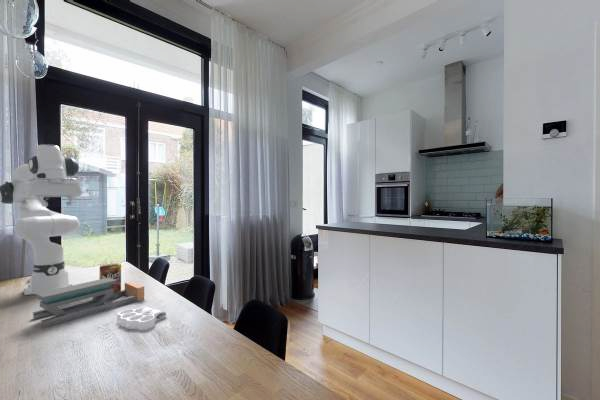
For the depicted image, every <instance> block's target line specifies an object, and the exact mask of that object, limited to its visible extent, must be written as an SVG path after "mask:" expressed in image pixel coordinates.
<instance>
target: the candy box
mask: <svg viewBox="0 0 600 400" xmlns="http://www.w3.org/2000/svg"><path fill="white" fill-rule="evenodd" d="M98 277H99V279H98V280H100V279H104V278H111V279H114V280H116V284H113V285H109V287H112V288H114V292H118V291H122V262H117V263H115V262H114V263H108V264H100V265H99V276H98Z"/></svg>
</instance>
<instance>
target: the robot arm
mask: <svg viewBox="0 0 600 400" xmlns="http://www.w3.org/2000/svg"><path fill="white" fill-rule="evenodd" d="M62 154H63V153H62V151H61V149H60V146H58V145H55V144H50V143H49V144H48V143H47V144H46V143H40V144H38V145H37V146H36V154H35V155H34V156H32V157H30V158H29V159H28V160H27V162H28V163H24V164H21V165H19V166H18V167H16V168H15V169H14V170H13V171H12V175H11V176H12V181H8V180H7V181H5V182H4V183H3V184H1V185H0V203H2V204H6V205H7V204H8V205H12V204H19V206H18V207H17V211H18V214H19V216H20V217H21V218H20V219H18V220H17V221H16V222H15V224H14V226H13V230H14V233H15V235H16V236H17V237H19V238H21V239H23V240H25V241H26V242H27V243H28V244H30V247H32V250H33V254H34V264H33V267H32V268H33V269H32V271H33V273H32V275H31V276H30V277H29V278H28V279H26V283H25V284H26V285H27V286H25V288H24V294H23V295H24V296H28V295H29V296H30V295H36V293H41V292H45V291H50V290H54V289H59V288H63V287H68V286H72V285H73V283H72V282H70V281H69V271H68V270H66V269H65V261H64V247H63V246H62V245H61V244H58V243H56V242H52V241H51V240H50V237H51V238H52V237H62V236H63V237H64V236H68V235H72V234H76V232H78V230H79V228H80V227H81V224H80V220H79V218H78V217H76V216H73V215H69V214H63V213H60V212H57V211H53V210H51V209H49V208H47V207H48V206H49V203H48V202H49V201H48V200H49V199H50V198H65V197H66V198H67V199H68V201H67V202H66V203H65V204H66V206H67V207H68V206H70V207H71V206H73V200H74V199H75V197H77V198H78V197H81V196H82V195H83V194H82V193H83V191H82V188H81V184H80V181H79V179H76V178H75V177H74V176H75V175H76V174H77V173H78V172H79V170H80V169H79V168H80V166H79V163H78V161H77V160H76V159H74V158H73V157H71V156H70V157H68V156H64V157H63V155H62ZM69 177H70V178H69ZM71 177H73V178H71Z"/></svg>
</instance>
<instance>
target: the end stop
mask: <svg viewBox="0 0 600 400" xmlns="http://www.w3.org/2000/svg"><path fill="white" fill-rule="evenodd" d="M124 290H126V295H125V296H126V297H130V296H134V295H137V296H138V301H137V302H139V301H142V300H145V286H144V285H142V284H139V283H136V282H134V281H125V282H124Z"/></svg>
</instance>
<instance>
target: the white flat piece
mask: <svg viewBox="0 0 600 400" xmlns="http://www.w3.org/2000/svg"><path fill="white" fill-rule="evenodd" d="M166 316H167V312H166V311H163V310H159V309H157V308H152V307H149V306H146V305H145V306H141V307H138V308H129V309H124V310H121V311H118V312H117V314H116V323H115V325H119V326H120V327H123V328H126V329H127V330H139V331H144V330H148V329H151V328H153V327H154V326H155V325H156V321H160V320H162V319H165V317H166Z"/></svg>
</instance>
